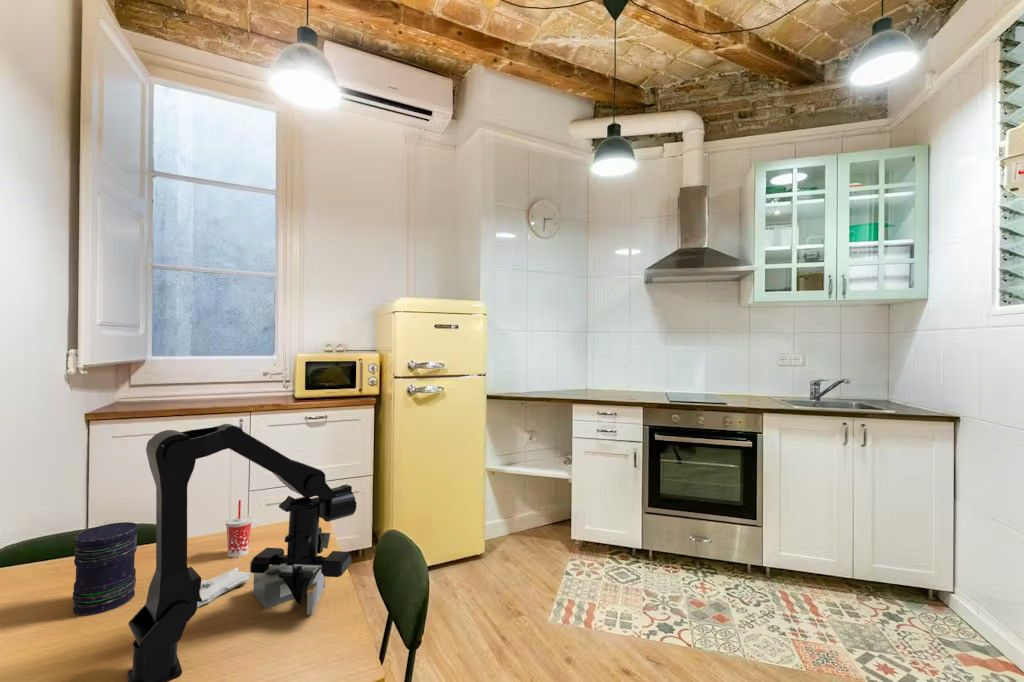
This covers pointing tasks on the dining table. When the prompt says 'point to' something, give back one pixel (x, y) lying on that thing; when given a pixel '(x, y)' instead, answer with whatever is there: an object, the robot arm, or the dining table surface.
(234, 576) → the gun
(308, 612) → the side door
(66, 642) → the dining table surface
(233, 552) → the beverage cup
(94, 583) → the dark blue cylinder
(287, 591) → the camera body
